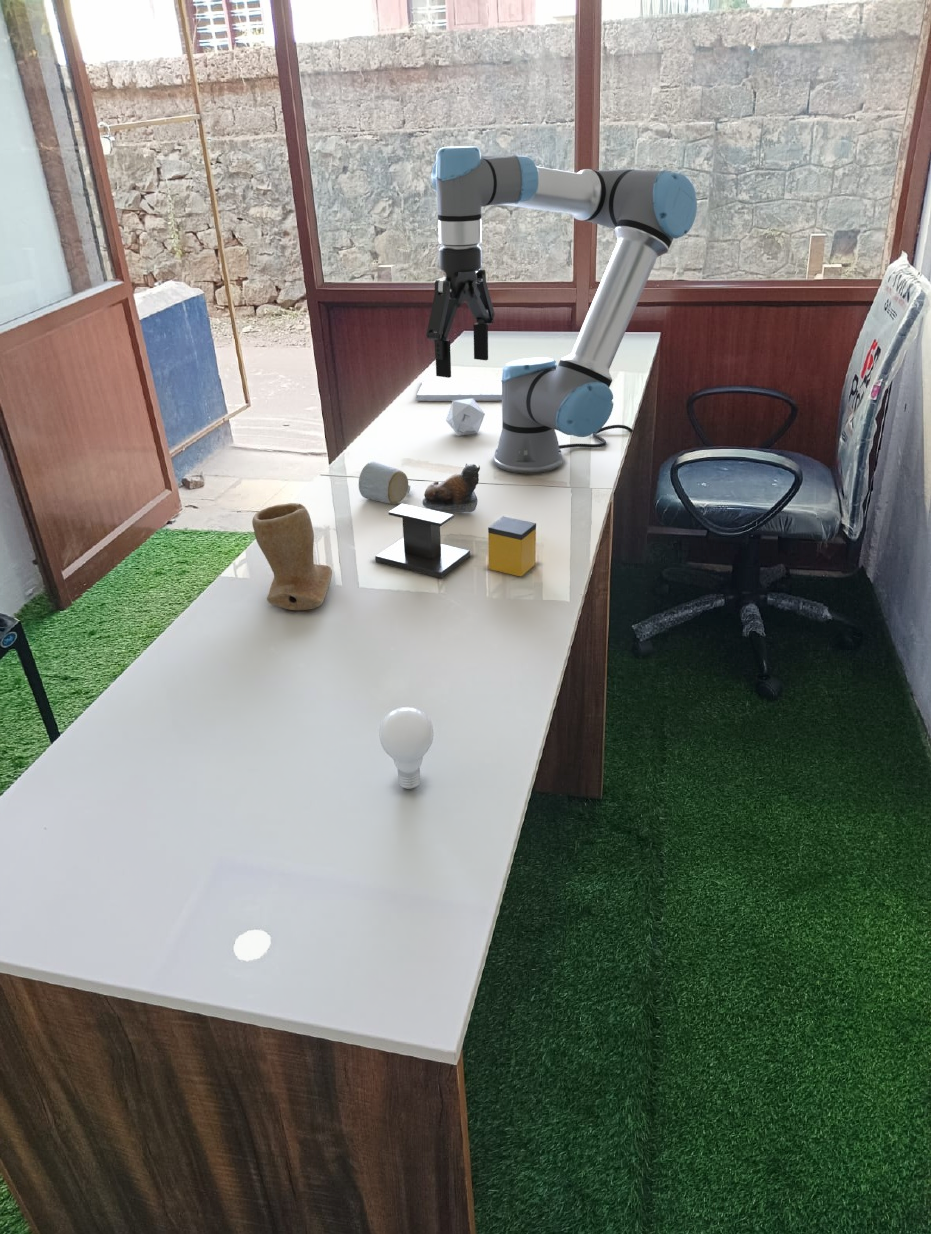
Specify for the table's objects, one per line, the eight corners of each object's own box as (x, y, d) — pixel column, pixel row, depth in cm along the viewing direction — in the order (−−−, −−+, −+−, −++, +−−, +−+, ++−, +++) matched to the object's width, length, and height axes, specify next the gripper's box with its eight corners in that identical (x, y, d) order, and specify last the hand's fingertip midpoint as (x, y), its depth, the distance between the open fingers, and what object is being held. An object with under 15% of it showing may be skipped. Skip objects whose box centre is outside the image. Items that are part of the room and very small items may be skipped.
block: (503, 557, 166) (503, 516, 162) (535, 564, 163) (536, 523, 159) (488, 569, 162) (488, 527, 158) (521, 576, 159) (521, 534, 155)
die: (439, 436, 228) (446, 411, 219) (451, 409, 232) (458, 384, 223) (471, 448, 228) (479, 424, 219) (482, 422, 232) (491, 397, 223)
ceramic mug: (391, 510, 185) (389, 474, 182) (358, 503, 189) (356, 467, 185) (420, 493, 193) (418, 459, 190) (388, 487, 197) (386, 452, 193)
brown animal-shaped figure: (418, 513, 184) (416, 466, 179) (430, 500, 189) (428, 454, 184) (475, 520, 180) (474, 471, 175) (485, 506, 186) (485, 459, 181)
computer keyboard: (571, 382, 264) (571, 377, 264) (572, 401, 248) (572, 395, 247) (423, 382, 268) (423, 376, 267) (415, 400, 252) (415, 394, 251)
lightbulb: (383, 770, 114) (377, 697, 108) (434, 767, 114) (430, 694, 109) (383, 805, 108) (377, 730, 103) (437, 801, 109) (433, 726, 103)
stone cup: (271, 573, 162) (259, 493, 155) (337, 572, 162) (329, 493, 154) (250, 615, 149) (237, 531, 142) (323, 615, 149) (313, 530, 141)
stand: (406, 541, 173) (403, 496, 168) (470, 556, 166) (469, 510, 162) (375, 561, 165) (371, 515, 161) (441, 578, 159) (439, 531, 154)
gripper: (477, 235, 171) (478, 350, 181) (402, 254, 152) (409, 381, 163) (512, 237, 167) (512, 354, 178) (440, 257, 149) (444, 386, 159)
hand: (462, 367), depth 170 cm, fingers open, 13 cm apart
